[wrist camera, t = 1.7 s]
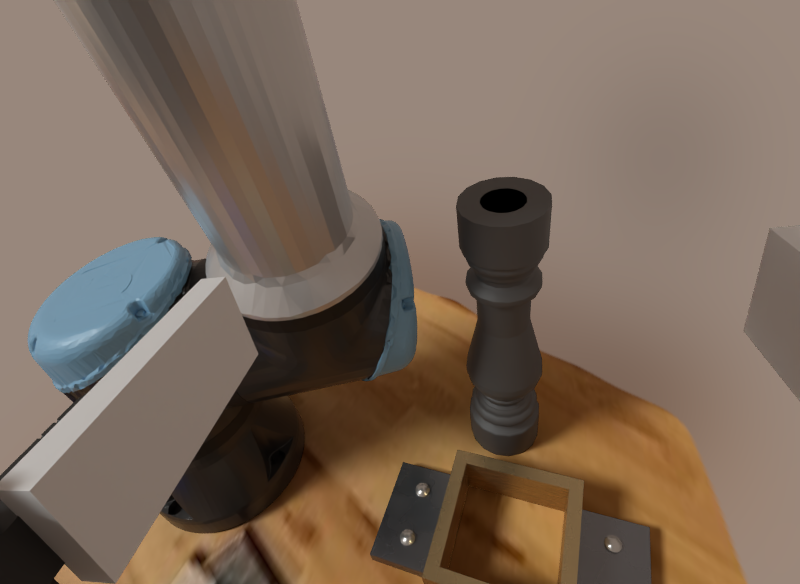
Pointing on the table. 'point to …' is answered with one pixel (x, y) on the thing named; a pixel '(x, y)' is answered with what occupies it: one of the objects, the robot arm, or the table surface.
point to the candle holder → (504, 306)
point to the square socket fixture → (445, 496)
